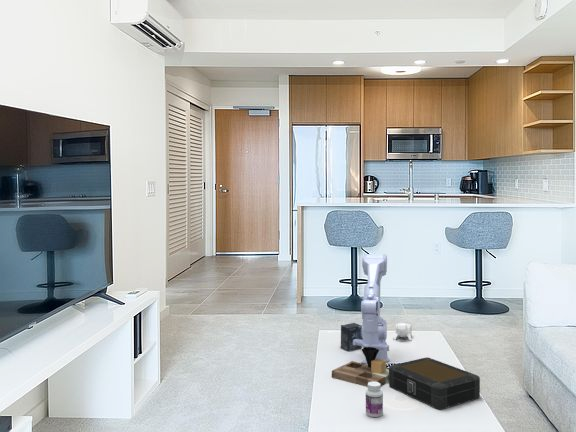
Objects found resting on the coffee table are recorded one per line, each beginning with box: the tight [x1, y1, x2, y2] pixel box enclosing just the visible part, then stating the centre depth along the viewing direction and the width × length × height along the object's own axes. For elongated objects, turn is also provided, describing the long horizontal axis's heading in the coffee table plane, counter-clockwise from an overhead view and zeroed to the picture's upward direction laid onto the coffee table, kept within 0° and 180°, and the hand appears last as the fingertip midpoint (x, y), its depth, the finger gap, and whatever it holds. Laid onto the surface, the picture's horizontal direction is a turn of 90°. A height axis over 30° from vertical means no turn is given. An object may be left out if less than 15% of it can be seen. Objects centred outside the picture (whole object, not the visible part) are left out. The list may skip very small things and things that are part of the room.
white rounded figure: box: [392, 322, 413, 342], centre depth 244 cm, size 9×8×15 cm
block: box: [371, 358, 387, 374], centre depth 193 cm, size 4×4×4 cm
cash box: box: [388, 356, 481, 410], centre depth 179 cm, size 25×20×8 cm
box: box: [340, 322, 363, 352], centre depth 230 cm, size 8×6×11 cm
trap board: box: [331, 360, 389, 388], centre depth 194 cm, size 14×19×2 cm
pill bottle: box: [365, 382, 384, 418], centre depth 162 cm, size 5×5×10 cm
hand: (370, 366), depth 195 cm, fingers closed
